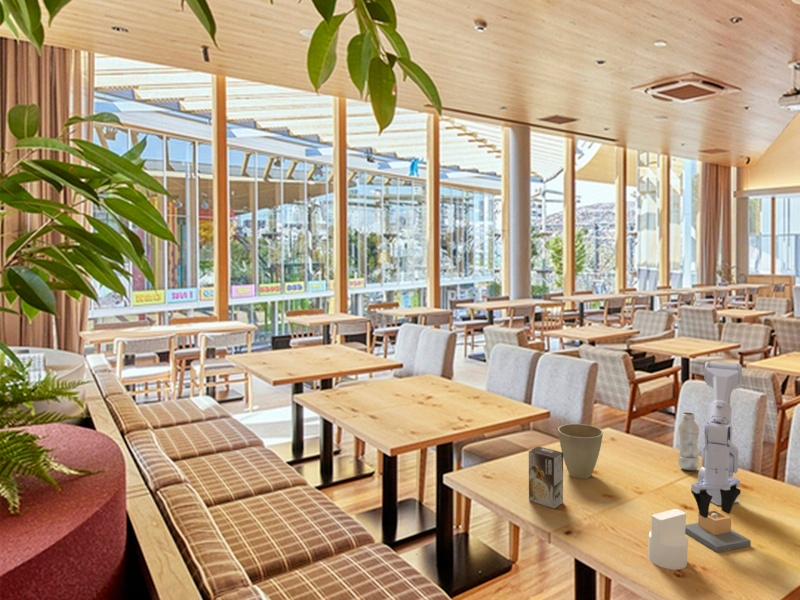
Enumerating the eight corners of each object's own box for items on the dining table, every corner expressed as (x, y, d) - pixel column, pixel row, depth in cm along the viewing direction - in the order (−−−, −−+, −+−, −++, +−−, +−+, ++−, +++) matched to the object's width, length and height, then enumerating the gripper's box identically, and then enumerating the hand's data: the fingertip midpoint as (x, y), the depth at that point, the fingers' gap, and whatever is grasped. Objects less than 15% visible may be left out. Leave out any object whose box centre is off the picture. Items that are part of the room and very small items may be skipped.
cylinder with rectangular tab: (669, 573, 140) (670, 525, 139) (640, 555, 148) (641, 510, 147) (695, 564, 144) (697, 518, 143) (665, 547, 152) (667, 503, 151)
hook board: (682, 530, 160) (682, 510, 160) (714, 524, 163) (714, 505, 163) (716, 552, 149) (717, 531, 148) (750, 545, 152) (751, 524, 151)
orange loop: (698, 525, 160) (698, 511, 160) (713, 522, 162) (714, 508, 162) (714, 535, 155) (715, 520, 155) (730, 531, 157) (731, 517, 156)
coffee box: (564, 502, 179) (564, 452, 178) (554, 509, 175) (554, 458, 173) (537, 494, 185) (538, 445, 184) (527, 500, 181) (527, 451, 179)
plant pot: (556, 465, 209) (556, 422, 208) (599, 468, 206) (599, 424, 205) (558, 481, 195) (559, 436, 193) (605, 485, 192) (606, 438, 190)
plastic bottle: (677, 465, 208) (676, 411, 207) (698, 467, 205) (697, 411, 204) (679, 471, 201) (678, 415, 200) (701, 473, 199) (700, 416, 198)
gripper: (706, 475, 151) (704, 524, 152) (750, 468, 155) (748, 516, 156) (686, 465, 158) (684, 513, 159) (728, 459, 162) (726, 505, 163)
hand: (714, 514), depth 158 cm, fingers open, 7 cm apart
